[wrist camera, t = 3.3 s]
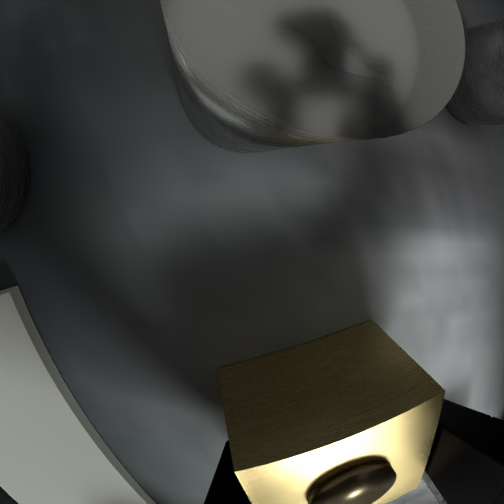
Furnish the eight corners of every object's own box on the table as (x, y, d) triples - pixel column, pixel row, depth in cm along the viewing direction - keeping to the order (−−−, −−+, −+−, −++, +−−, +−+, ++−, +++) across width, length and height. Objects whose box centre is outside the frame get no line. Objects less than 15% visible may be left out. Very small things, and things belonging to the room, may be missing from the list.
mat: (18, 285, 7) (9, 292, 6) (170, 518, 10) (170, 526, 10) (-101, 324, 6) (-108, 329, 6) (39, 513, 10) (38, 519, 9)
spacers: (479, 42, 7) (591, 22, 2) (455, 458, 13) (496, 509, 9) (-55, 147, 5) (-183, 161, 1) (177, 549, 12) (183, 617, 7)
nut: (372, 319, 9) (452, 398, 5) (372, 420, 10) (422, 493, 7) (217, 368, 8) (236, 483, 5) (254, 460, 10) (277, 549, 6)
